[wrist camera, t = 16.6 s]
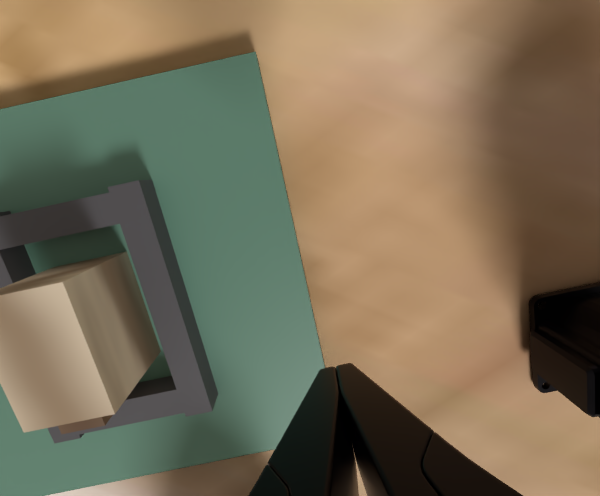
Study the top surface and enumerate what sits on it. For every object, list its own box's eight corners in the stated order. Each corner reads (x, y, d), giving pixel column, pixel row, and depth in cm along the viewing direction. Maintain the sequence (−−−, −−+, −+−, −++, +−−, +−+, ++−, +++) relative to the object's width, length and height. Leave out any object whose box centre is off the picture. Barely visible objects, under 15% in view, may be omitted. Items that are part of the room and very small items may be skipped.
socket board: (257, 58, 16) (251, 38, 14) (337, 424, 21) (343, 456, 19) (-161, 153, 17) (-237, 149, 14) (13, 489, 22) (-22, 529, 19)
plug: (126, 251, 17) (62, 282, 12) (165, 363, 19) (121, 429, 14) (54, 266, 17) (-39, 303, 12) (98, 377, 19) (31, 447, 14)
